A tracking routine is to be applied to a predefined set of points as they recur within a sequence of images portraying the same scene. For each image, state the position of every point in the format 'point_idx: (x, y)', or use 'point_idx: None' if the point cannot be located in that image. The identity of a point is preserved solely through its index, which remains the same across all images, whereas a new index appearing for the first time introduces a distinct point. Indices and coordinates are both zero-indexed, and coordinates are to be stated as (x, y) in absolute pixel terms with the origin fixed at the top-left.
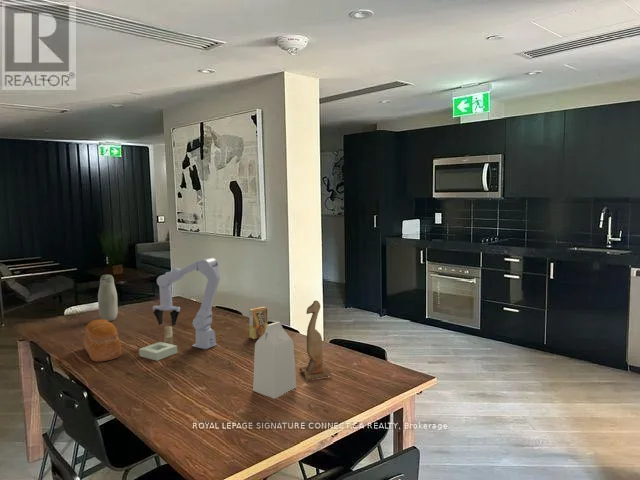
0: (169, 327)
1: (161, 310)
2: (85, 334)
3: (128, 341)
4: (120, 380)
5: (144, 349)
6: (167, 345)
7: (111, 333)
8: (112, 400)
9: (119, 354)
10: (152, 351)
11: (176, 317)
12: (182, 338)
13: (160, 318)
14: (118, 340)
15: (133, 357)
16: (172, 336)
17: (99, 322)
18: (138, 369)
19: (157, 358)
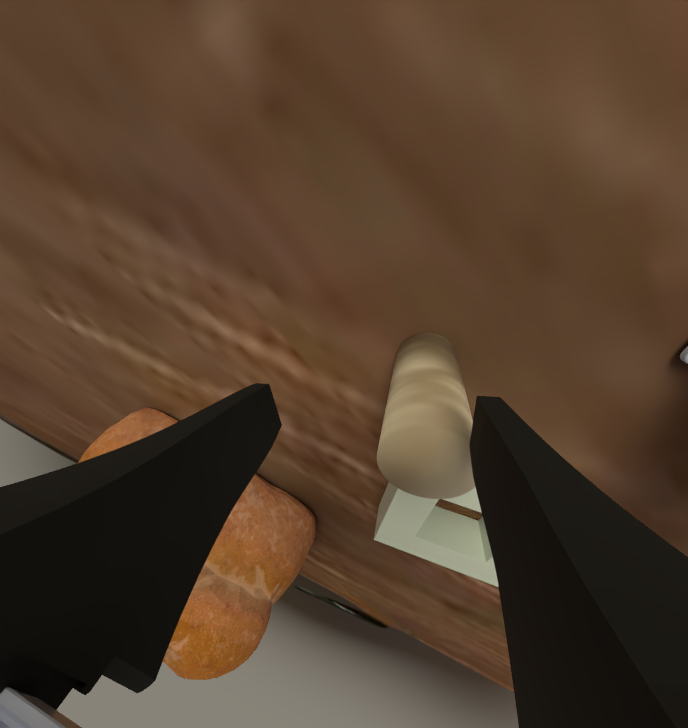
0: (449, 468)
1: (21, 627)
2: None
3: (168, 354)
4: (459, 630)
5: (406, 548)
6: None
7: (252, 652)
8: (512, 687)
9: (314, 528)
10: (468, 571)
11: (606, 529)
12: (457, 156)
13: (222, 469)
14: (276, 580)
15: (365, 513)
16: (462, 382)
17: None
18: (466, 592)
19: None
